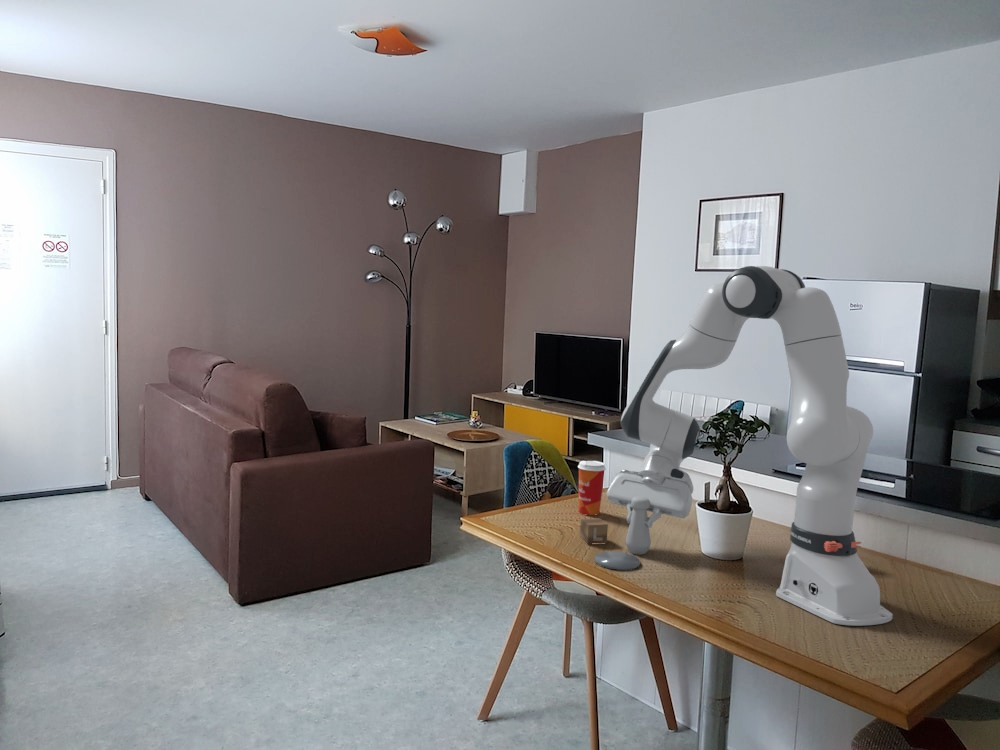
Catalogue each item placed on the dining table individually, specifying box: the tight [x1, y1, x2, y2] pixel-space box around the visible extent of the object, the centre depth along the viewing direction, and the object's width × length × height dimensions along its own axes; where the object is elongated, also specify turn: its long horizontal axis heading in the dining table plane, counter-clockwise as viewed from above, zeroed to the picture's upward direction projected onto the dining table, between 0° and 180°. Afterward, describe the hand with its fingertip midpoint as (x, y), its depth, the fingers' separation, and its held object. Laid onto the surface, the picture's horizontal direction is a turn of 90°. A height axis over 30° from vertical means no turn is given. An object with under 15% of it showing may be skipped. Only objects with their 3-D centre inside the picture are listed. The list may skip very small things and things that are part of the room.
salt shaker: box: [625, 497, 652, 556], centre depth 179 cm, size 6×6×13 cm
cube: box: [579, 517, 609, 545], centre depth 186 cm, size 5×5×5 cm
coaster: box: [594, 551, 641, 571], centre depth 172 cm, size 10×10×1 cm
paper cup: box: [577, 460, 607, 516], centre depth 210 cm, size 8×8×14 cm
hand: (638, 524), depth 179 cm, fingers closed on salt shaker, 3 cm apart
